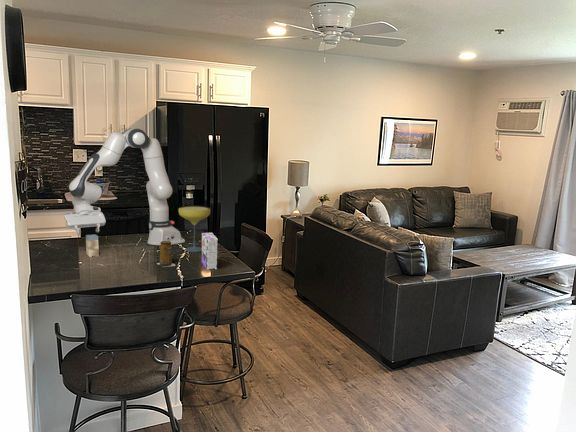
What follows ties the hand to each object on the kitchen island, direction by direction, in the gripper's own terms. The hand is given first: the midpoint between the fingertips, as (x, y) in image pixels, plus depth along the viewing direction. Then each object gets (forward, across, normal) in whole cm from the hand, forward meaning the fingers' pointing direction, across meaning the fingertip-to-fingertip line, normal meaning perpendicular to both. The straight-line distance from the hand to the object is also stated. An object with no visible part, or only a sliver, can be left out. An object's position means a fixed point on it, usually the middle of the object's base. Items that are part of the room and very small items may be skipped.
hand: (88, 232), depth 249 cm
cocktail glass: (+22, +53, -6) cm, 58 cm away
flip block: (+12, 0, +4) cm, 13 cm away
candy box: (+46, +45, -30) cm, 71 cm away
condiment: (+37, +27, -20) cm, 50 cm away
